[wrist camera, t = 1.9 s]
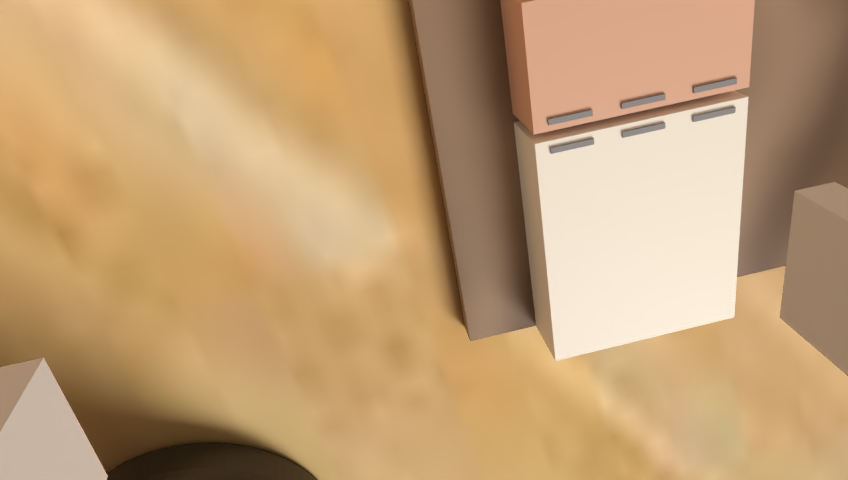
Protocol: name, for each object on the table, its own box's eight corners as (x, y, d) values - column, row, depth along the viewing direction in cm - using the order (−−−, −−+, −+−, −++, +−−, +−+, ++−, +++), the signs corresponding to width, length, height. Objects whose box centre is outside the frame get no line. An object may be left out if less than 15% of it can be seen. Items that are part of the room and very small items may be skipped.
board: (465, 328, 35) (476, 359, 32) (407, -9, 27) (416, 0, 24) (853, 235, 36) (892, 258, 34) (908, -111, 28) (964, -113, 26)
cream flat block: (536, 325, 34) (556, 362, 31) (513, 122, 29) (535, 145, 26) (701, 285, 34) (735, 318, 32) (708, 79, 29) (750, 97, 26)
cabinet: (512, 113, 28) (534, 135, 26) (499, -7, 26) (522, 3, 23) (708, 70, 29) (750, 87, 26) (712, -51, 27) (759, -46, 24)
